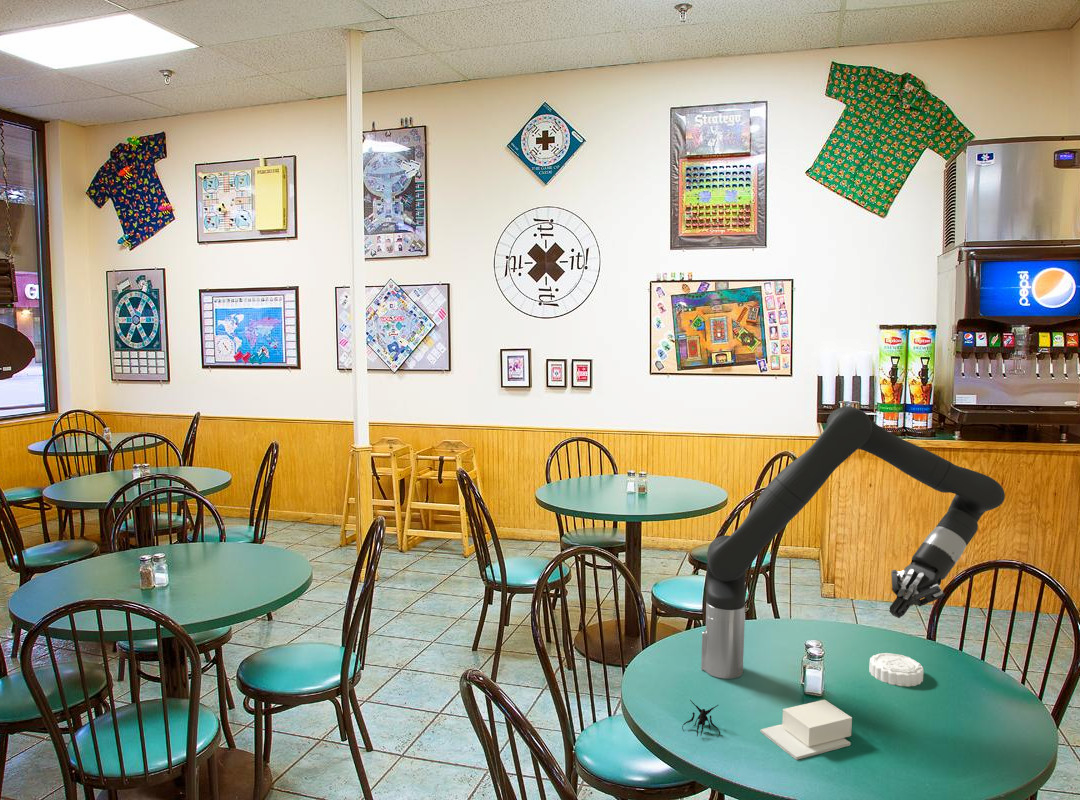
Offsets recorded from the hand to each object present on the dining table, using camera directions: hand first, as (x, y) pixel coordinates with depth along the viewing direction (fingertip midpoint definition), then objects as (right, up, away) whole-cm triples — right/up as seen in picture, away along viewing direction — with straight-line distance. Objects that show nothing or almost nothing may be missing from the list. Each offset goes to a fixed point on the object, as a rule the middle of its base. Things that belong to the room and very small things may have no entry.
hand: (894, 614), depth 166 cm
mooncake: (+11, -21, +23) cm, 33 cm away
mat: (-21, -24, -6) cm, 33 cm away
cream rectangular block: (-13, -21, -3) cm, 25 cm away
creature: (-42, -24, -3) cm, 48 cm away
